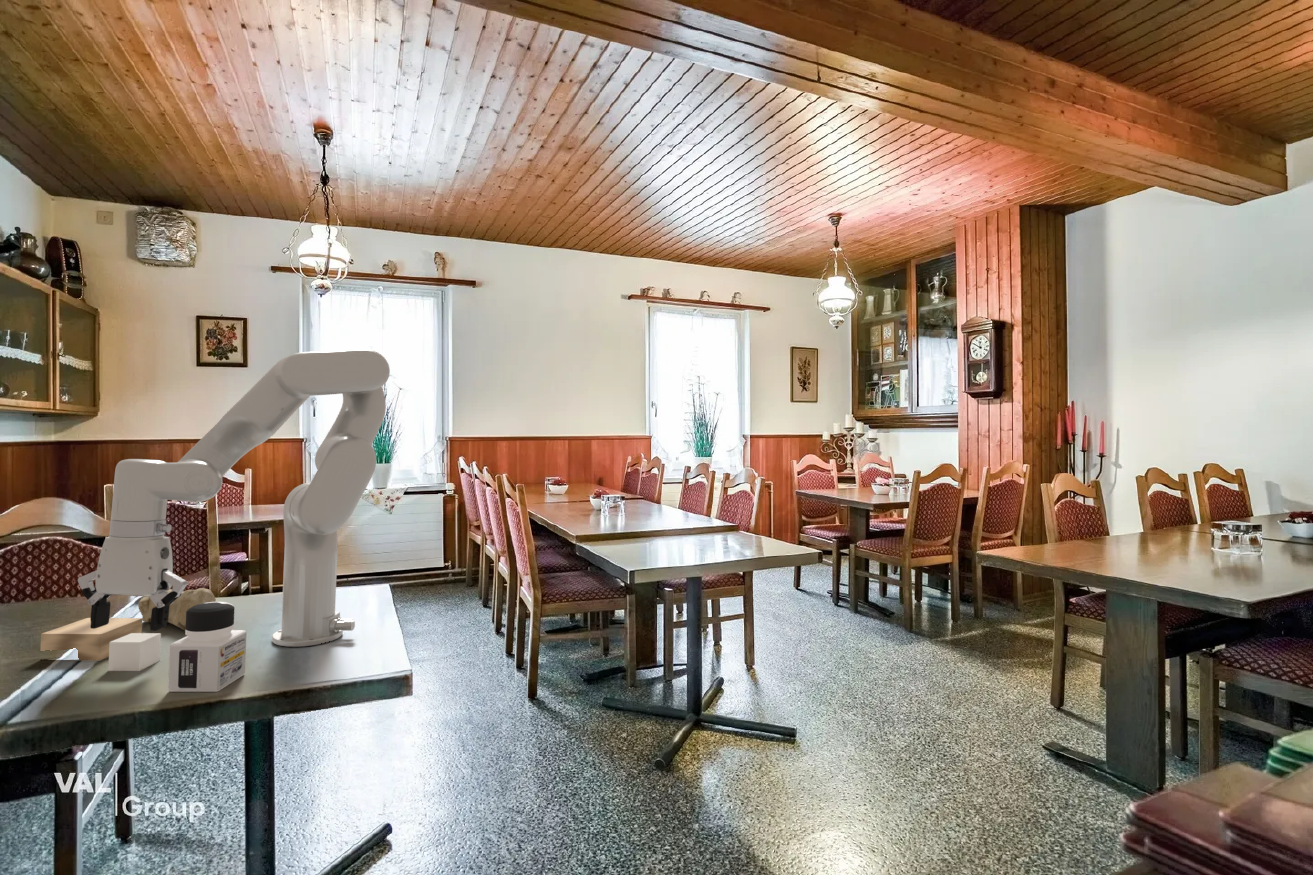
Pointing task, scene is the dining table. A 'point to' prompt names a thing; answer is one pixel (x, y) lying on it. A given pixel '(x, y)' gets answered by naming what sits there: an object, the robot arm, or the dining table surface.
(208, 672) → the container
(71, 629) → the oak block
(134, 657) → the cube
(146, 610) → the sculpture
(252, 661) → the dining table surface
